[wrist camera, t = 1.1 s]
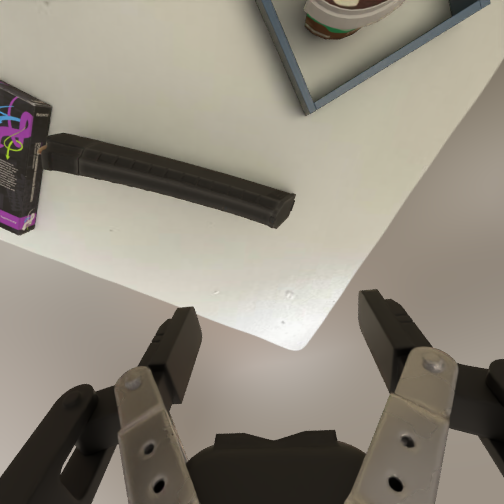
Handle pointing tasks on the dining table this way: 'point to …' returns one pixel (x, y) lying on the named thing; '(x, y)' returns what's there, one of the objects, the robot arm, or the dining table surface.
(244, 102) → the dining table surface
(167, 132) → the dining table surface
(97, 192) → the dining table surface
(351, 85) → the blue rectangular frame
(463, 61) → the dining table surface
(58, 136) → the magazine
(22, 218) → the box
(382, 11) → the food container
